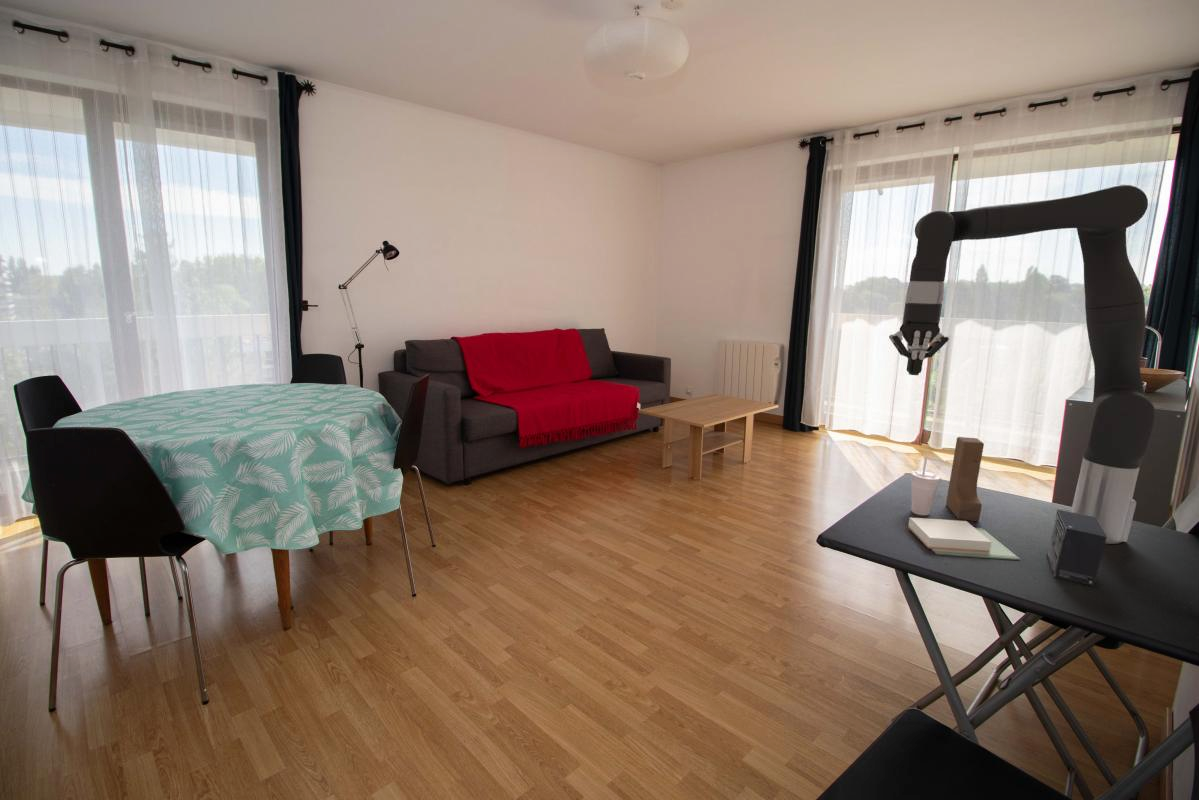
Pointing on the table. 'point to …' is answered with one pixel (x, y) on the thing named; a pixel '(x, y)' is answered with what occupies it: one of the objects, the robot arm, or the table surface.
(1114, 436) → the robot arm
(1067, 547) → the small box
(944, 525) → the tile
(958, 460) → the wooden block
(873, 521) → the table surface
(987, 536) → the mat
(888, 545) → the table surface
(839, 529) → the table surface
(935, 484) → the smoothie
